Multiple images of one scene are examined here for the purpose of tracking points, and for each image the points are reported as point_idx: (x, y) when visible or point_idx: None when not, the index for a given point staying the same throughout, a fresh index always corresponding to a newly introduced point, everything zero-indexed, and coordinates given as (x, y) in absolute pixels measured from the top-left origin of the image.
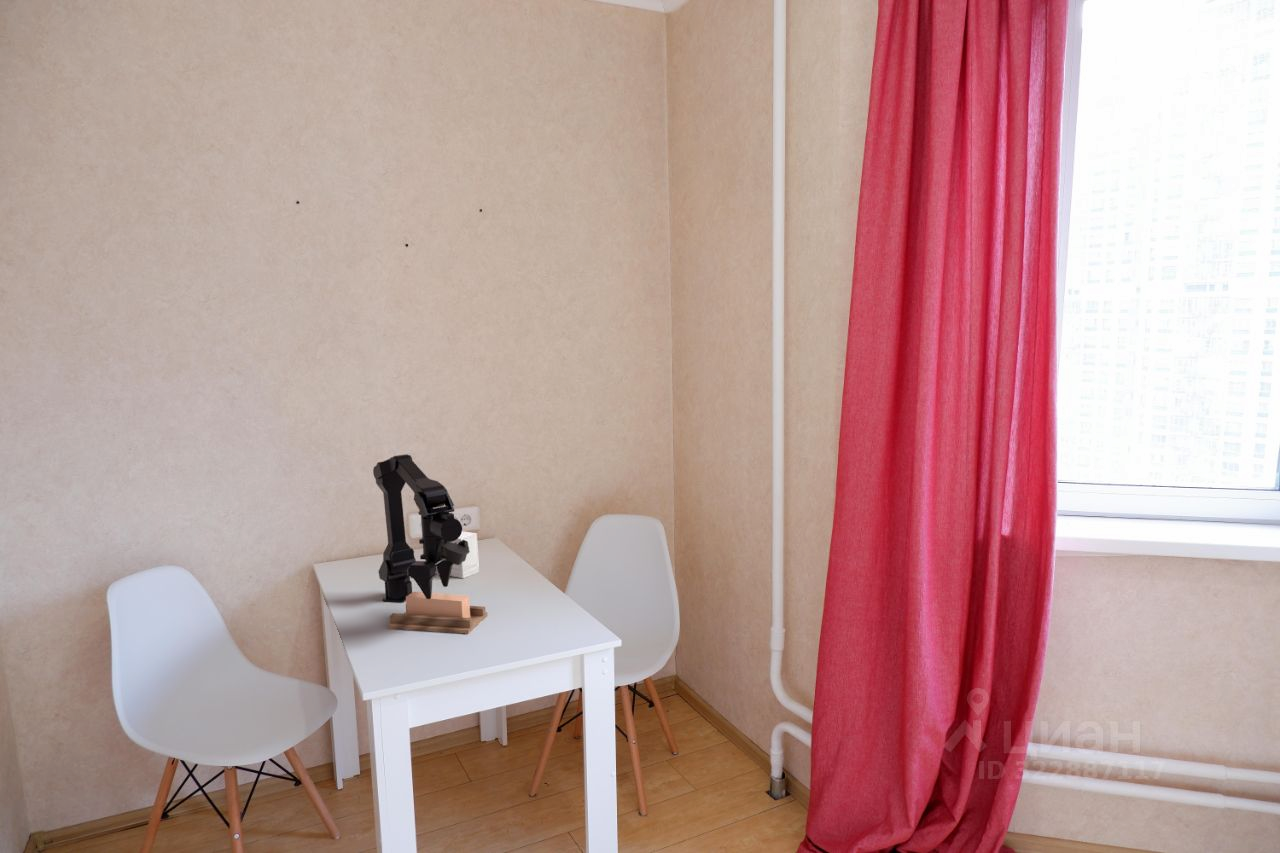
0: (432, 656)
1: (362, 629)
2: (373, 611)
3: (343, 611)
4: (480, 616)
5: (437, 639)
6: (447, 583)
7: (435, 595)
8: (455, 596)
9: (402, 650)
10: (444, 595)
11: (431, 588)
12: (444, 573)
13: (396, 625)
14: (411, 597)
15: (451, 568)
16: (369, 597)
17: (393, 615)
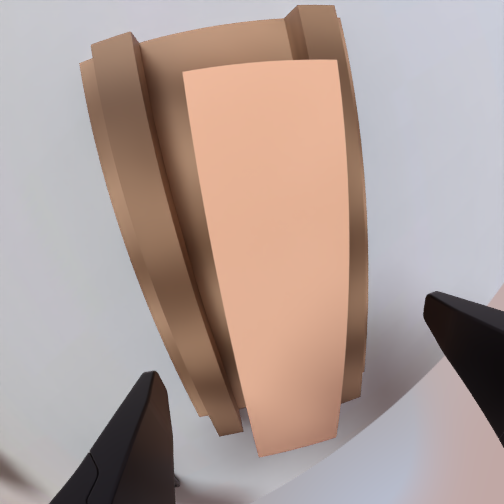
0: (498, 81)
1: (368, 405)
2: (246, 463)
3: (271, 489)
4: (147, 53)
5: (414, 129)
6: (149, 386)
7: (280, 350)
8: (248, 188)
9: (487, 198)
10: (260, 295)
11: (494, 320)
12: (151, 483)
13: (365, 348)
14: (337, 419)
15: (68, 494)
16: (176, 500)
17: (356, 390)
